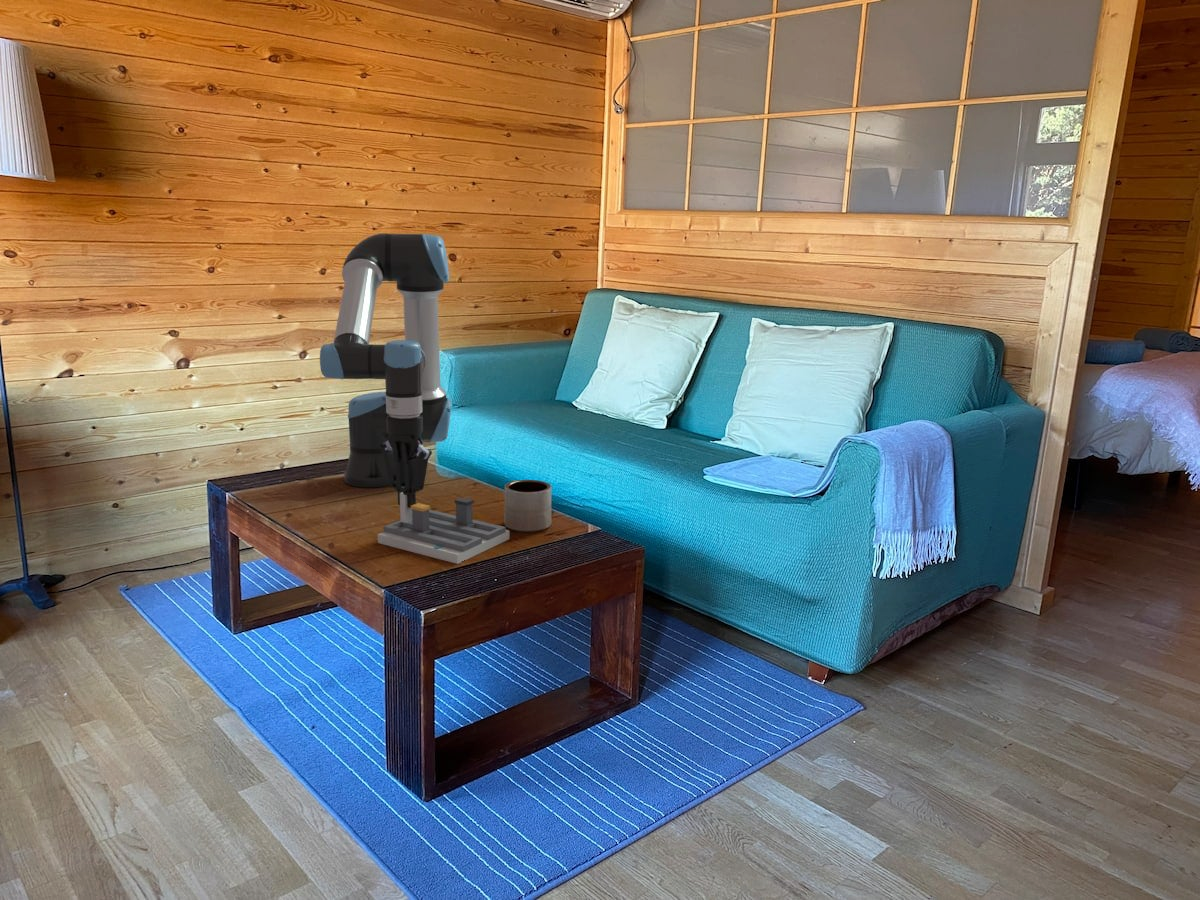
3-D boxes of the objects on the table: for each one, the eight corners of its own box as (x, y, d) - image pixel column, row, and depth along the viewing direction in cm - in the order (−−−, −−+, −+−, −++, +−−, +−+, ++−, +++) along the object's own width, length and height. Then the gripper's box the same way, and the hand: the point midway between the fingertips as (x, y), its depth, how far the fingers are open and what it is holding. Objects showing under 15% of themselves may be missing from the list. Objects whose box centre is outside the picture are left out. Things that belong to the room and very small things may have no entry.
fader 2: (460, 524, 203) (460, 497, 201) (474, 527, 201) (474, 500, 199) (453, 526, 201) (453, 499, 199) (468, 530, 199) (467, 502, 197)
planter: (521, 515, 217) (521, 476, 215) (559, 523, 212) (560, 483, 210) (495, 527, 208) (494, 487, 205) (535, 536, 203) (535, 495, 200)
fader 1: (417, 530, 198) (417, 502, 196) (431, 533, 196) (431, 505, 194) (410, 533, 196) (409, 505, 194) (424, 536, 194) (423, 508, 192)
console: (432, 520, 211) (432, 507, 210) (509, 539, 201) (509, 525, 200) (377, 542, 196) (377, 528, 195) (457, 563, 185) (457, 549, 185)
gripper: (368, 413, 191) (373, 519, 197) (415, 421, 185) (418, 531, 191) (393, 408, 198) (397, 510, 203) (439, 415, 191) (441, 521, 197)
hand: (407, 520), depth 197 cm, fingers closed
